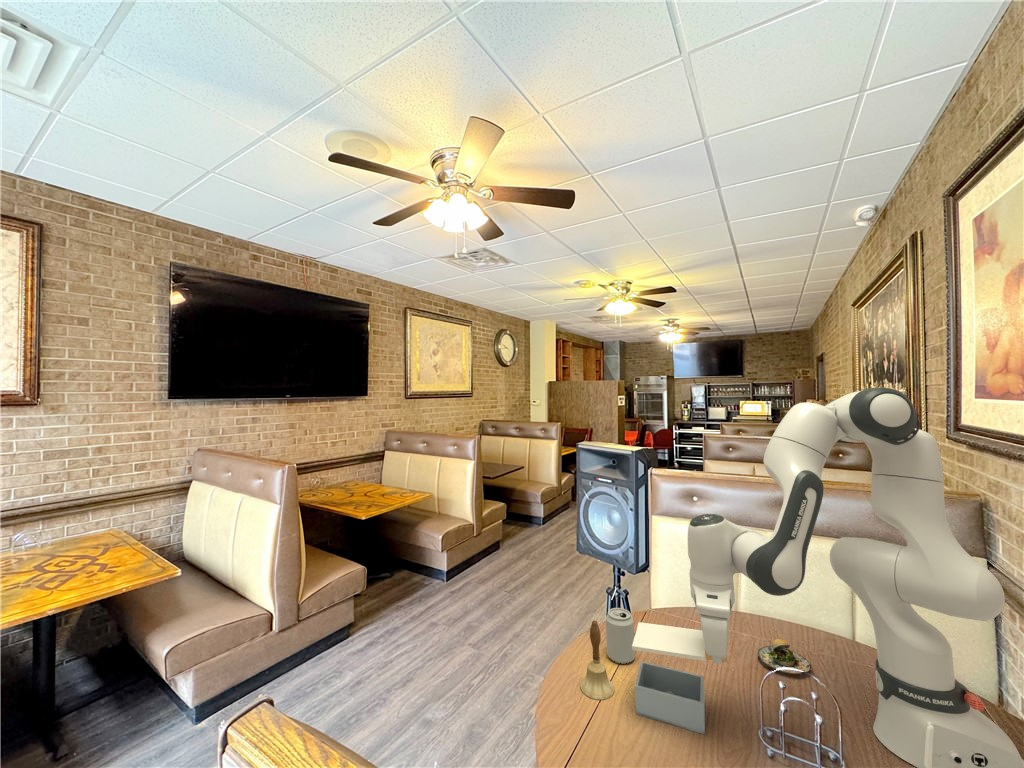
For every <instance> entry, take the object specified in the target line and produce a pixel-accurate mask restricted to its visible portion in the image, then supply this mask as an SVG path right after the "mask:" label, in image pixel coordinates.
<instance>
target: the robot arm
mask: <svg viewBox="0 0 1024 768" xmlns="http://www.w3.org/2000/svg"><path fill="white" fill-rule="evenodd" d="M920 428H921V422H920V420H919V418H918V414H917V411H916V408H915V405H914V404H913V403H912V401H911V399H910V398H909V397H908V396H907V395H905V394H904V393H903V392H901V391H899V390H897V389H893V388H888V387H869V388H865V389H862V390H859V391H853V392H849V393H848V394H847V393H846V394H845V395H843V396H841V397H839V398H837V399H834V400H831V401H829V402H827V403H825V404H824V405H821V404H819V403H817V402H809V401H808V402H807V401H806V402H799V403H796V404H794V405H793V406H791V408H790V409H789V410H788V411H787V413H785V415H784V417H782V419H781V421H780V422H779V424H778V425H777V427H776V429H775V430H774V432H773V434H772V436H771V438H770V440H769V442H768V444H767V446H766V449H765V450H764V451H765V452H764V455H763V461H762V462H763V466H764V468H765V470H766V472H767V474H768V475H769V477H771V479H772V480H773V481H774V482H775V483H776V484H777V485H778V487H780V490H781V492H782V496H783V499H782V501H783V502H782V506H781V508H780V510H779V513H778V517H777V520H776V522H775V526H774V529H773V533H772V534H771V535H770V536H769V537H768V536H766V535H764V534H762V533H761V532H758V531H756V530H754V529H753V528H750V527H747V526H742V525H738V524H736V523H734V522H732V521H730V520H729V519H728V520H727V519H726V518H725V517H724V516H722V515H720V514H715V513H706V514H705V513H704V514H699V515H696V516H694V517H693V518H692V519H691V520H690V521H689V524H688V527H687V555H688V556H687V557H688V559H689V561H690V569H689V573H688V575H689V585H690V586H689V587H690V596H691V598H692V599H693V602H694V605H695V610H696V613H697V614H698V615H699V620H700V625H701V630H702V634H703V639H704V645H705V650H706V653H707V654H708V655H709V656H712V660H711V662H713V663H714V664H719V665H721V664H723V662H722V660H721V658H723V659H724V658H726V655H727V656H728V642H729V641H728V638H729V636H728V634H729V633H728V632H729V619H731V618H732V609H733V607H734V604H735V603H736V596H735V595H736V594H735V584H734V583H735V582H734V576H735V574H742V575H744V576H745V577H747V578H748V579H749V580H751V582H752V583H753V584H755V585H756V586H757V587H758V588H759V589H760V590H762V592H765V593H766V594H768V595H771V596H774V597H775V596H777V597H781V596H787V595H789V594H791V593H793V592H795V591H796V590H798V589H799V588H800V586H801V585H802V584H803V582H804V579H805V574H806V568H807V567H806V565H807V554H808V549H809V547H810V546H809V545H810V543H811V540H812V537H813V533H814V530H815V526H816V523H817V520H818V515H819V513H820V510H821V506H822V503H823V498H824V490H825V489H824V483H823V481H822V475H823V474H822V473H823V471H824V467H825V464H826V462H827V460H828V458H829V455H830V453H831V450H832V448H833V447H834V445H835V444H836V443H837V442H838V443H842V444H843V443H844V444H852V443H864V444H865V445H866V447H867V448H868V450H869V453H870V455H871V460H872V463H871V485H870V486H871V487H870V489H871V490H870V491H871V492H870V495H871V498H870V504H871V505H870V506H871V509H872V511H873V512H874V514H875V515H876V516H877V517H878V518H879V519H881V520H882V521H883V522H885V523H887V524H888V525H890V526H892V527H894V528H895V529H897V530H899V531H900V532H901V533H902V534H903V537H904V539H905V540H906V546H905V545H902V544H897V543H892V542H887V541H882V540H877V539H872V538H867V537H852V536H850V537H849V536H847V537H846V536H843V537H840V538H839V539H837V540H836V541H835V542H834V543H833V544H832V546H831V548H830V551H829V561H830V566H831V567H832V570H833V571H834V573H835V575H836V576H837V577H838V578H839V579H840V580H841V581H842V582H843V583H844V584H846V585H847V586H848V587H849V588H850V589H851V590H852V591H853V593H854V594H855V595H856V596H857V597H858V599H859V600H860V601H861V603H862V605H863V606H864V608H865V610H866V611H867V614H868V616H869V618H870V621H871V623H872V626H873V631H874V637H875V638H874V639H875V645H876V653H877V659H876V660H875V672H874V673H875V683H876V688H877V690H878V701H877V702H878V704H877V710H876V716H875V719H874V722H873V725H872V729H873V733H874V735H875V737H876V738H877V739H878V740H879V742H880V743H881V744H882V745H883V746H884V747H886V749H888V750H889V752H891V753H893V754H894V755H896V756H897V757H899V758H900V759H902V760H904V761H905V762H907V763H908V764H911V765H912V766H914V767H916V768H1024V759H1023V758H1022V757H1021V754H1020V753H1019V751H1018V749H1017V747H1016V745H1015V744H1014V743H1013V741H1012V739H1011V738H1010V737H1009V736H1008V735H1007V733H1005V732H1004V730H1002V728H1000V727H1001V726H998V725H997V724H996V723H995V722H994V721H992V720H991V719H990V718H989V717H987V716H986V715H985V714H983V713H982V712H981V711H983V710H984V709H985V705H984V703H983V701H982V700H981V699H980V698H979V697H978V696H977V695H975V694H974V693H970V690H969V689H968V688H967V687H966V686H965V685H964V684H962V683H961V682H959V681H958V679H956V677H955V670H954V657H953V650H952V646H951V644H950V642H949V641H948V639H947V637H946V636H945V635H944V634H943V633H942V632H941V631H940V630H939V629H938V628H937V627H935V626H934V625H932V624H931V623H930V622H929V621H927V620H925V619H924V618H923V617H922V615H920V614H919V613H918V612H917V611H916V610H915V609H914V608H913V606H912V605H914V606H917V607H919V608H923V609H926V610H930V611H933V612H936V613H940V614H943V615H947V616H950V617H955V618H961V619H966V620H973V621H979V622H980V621H981V622H988V621H991V620H993V619H995V618H996V617H997V616H999V615H1000V613H1001V612H1002V611H1003V609H1004V606H1005V605H1006V604H1005V602H1006V597H1005V596H1006V595H1005V592H1004V589H1003V587H1002V584H1001V582H1000V581H999V580H998V579H997V577H996V576H995V574H993V573H992V572H991V571H990V570H989V569H988V568H987V567H986V566H984V565H982V564H981V563H979V562H978V561H977V560H976V559H975V558H974V557H972V556H971V555H970V554H969V553H968V552H967V551H966V550H965V549H964V548H963V547H962V545H961V544H960V543H959V542H958V540H957V538H956V537H955V535H954V534H953V531H952V530H951V527H950V525H949V522H948V517H947V511H946V501H945V480H944V479H945V477H944V468H943V462H942V461H943V460H942V456H941V453H940V449H939V445H938V442H937V440H936V438H935V437H934V436H933V435H931V434H930V433H929V432H927V431H925V430H923V429H920ZM706 653H705V654H706Z"/></svg>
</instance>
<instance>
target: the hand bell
mask: <svg viewBox="0 0 1024 768" xmlns="http://www.w3.org/2000/svg"><path fill="white" fill-rule="evenodd" d="M598 624H599V623H598V621H597V620H592V621H591V624H590V630H589V639H590V644H591V647H592V660H590V661H589V662H588V663H587V668H586V674H585V677H583V678H582V680H581V681H580V684H579V687H580V690H581V691H580V692H581V693H582V694H583V695H584V696H586V697H588V698H589V699H592V700H596V701H605V700H608V699H610V698H612V697H613V695H614V694H615V686H614V685H613V683H612V681H611V680H610V679H609V678H608V672H607V667H606V664H605V663H603V662H602V661H601V658H600V645H601V630H600V626H599V625H598Z"/></svg>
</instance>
